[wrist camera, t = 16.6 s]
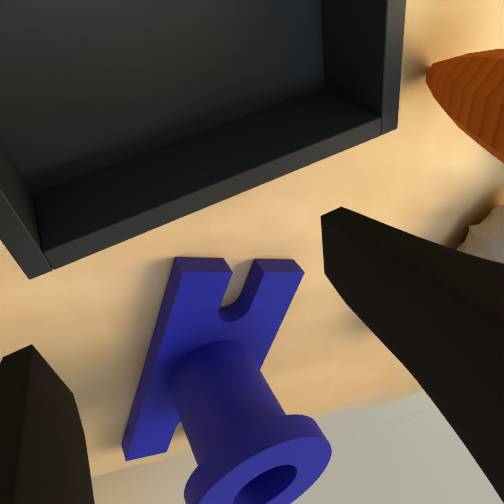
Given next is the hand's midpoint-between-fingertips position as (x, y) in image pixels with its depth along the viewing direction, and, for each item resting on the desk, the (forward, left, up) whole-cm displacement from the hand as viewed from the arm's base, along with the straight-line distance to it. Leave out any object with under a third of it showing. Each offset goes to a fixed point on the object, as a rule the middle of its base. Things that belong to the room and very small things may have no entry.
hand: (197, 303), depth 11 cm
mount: (0, -15, -10) cm, 18 cm away
